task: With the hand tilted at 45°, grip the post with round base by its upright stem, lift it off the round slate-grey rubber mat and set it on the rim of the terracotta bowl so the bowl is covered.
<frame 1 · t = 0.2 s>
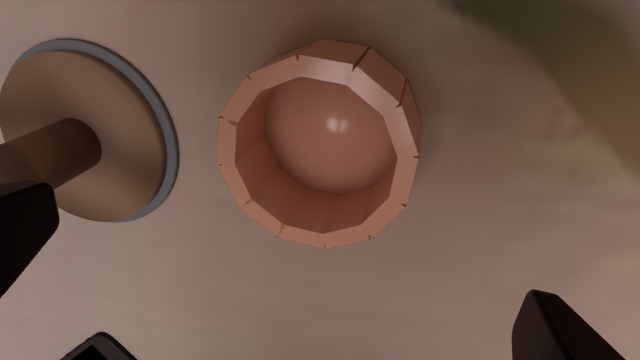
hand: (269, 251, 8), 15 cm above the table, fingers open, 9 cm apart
mat: (92, 136, 26), on the table
post with round base: (87, 139, 26), resting on mat
bowl: (333, 127, 23), on the table
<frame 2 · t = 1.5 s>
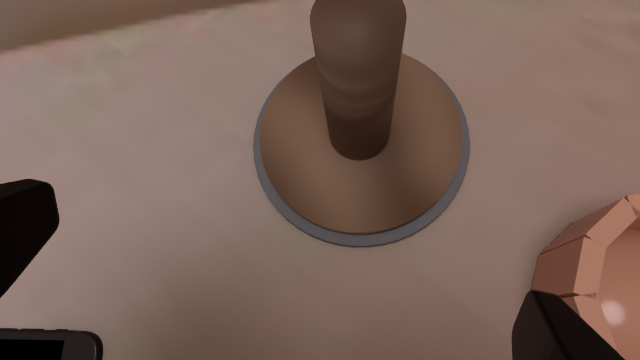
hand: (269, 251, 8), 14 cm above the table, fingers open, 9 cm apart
mat: (359, 141, 23), on the table
post with round base: (359, 138, 23), resting on mat
bowl: (631, 309, 20), on the table
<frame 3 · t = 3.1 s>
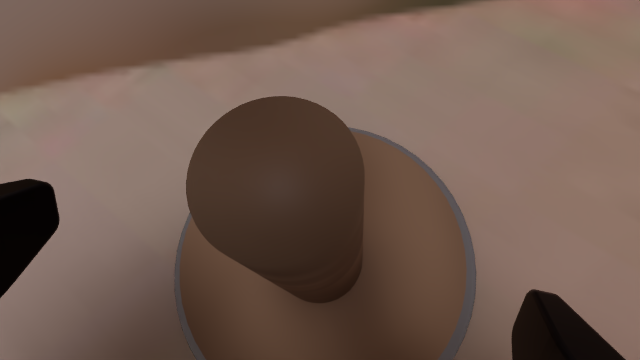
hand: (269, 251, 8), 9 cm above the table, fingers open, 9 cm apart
mat: (322, 263, 17), on the table
post with round base: (321, 262, 16), resting on mat
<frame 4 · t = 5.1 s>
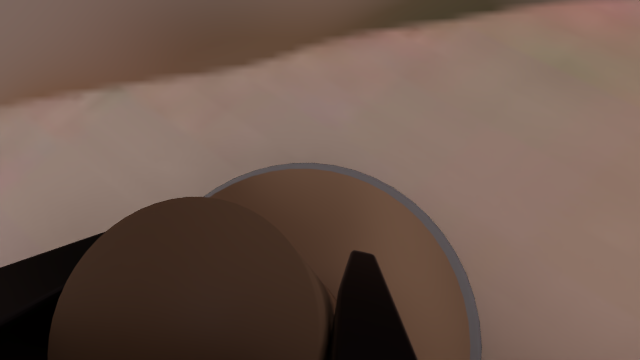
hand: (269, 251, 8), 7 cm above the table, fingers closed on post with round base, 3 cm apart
mat: (299, 329, 14), on the table
post with round base: (297, 329, 14), resting on mat, touching gripper
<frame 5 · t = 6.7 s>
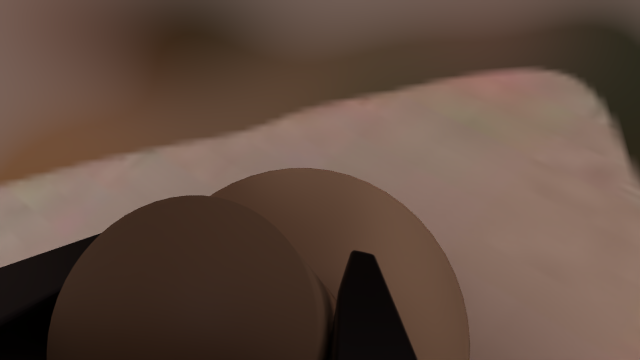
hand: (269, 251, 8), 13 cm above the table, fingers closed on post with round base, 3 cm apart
post with round base: (297, 329, 14), point 7 cm above the table, touching gripper
when the fingers open (12 cm above the table, at t = 8.8 s): post with round base drops 1 cm, resting on bowl.
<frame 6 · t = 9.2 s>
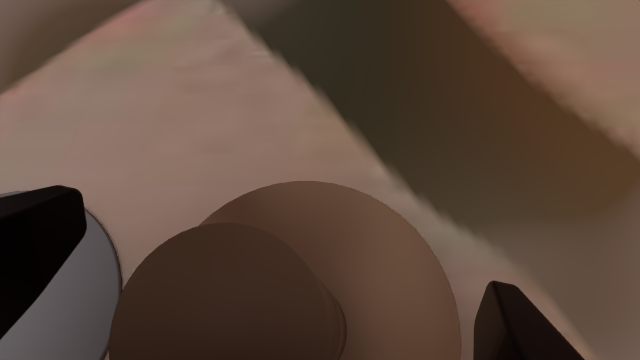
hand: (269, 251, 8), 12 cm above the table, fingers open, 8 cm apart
mat: (6, 306, 21), on the table
post with round base: (302, 330, 15), point 4 cm above the table, touching bowl
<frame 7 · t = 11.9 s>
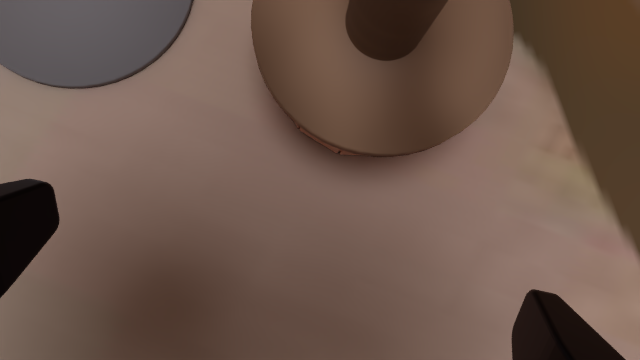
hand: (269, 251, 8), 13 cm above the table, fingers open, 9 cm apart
post with round base: (380, 31, 18), point 4 cm above the table, touching bowl
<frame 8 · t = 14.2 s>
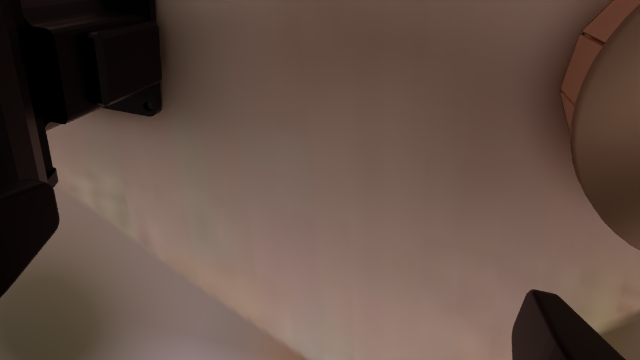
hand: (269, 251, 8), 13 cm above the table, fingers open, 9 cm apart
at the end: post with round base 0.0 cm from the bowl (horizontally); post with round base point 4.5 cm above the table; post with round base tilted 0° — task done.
